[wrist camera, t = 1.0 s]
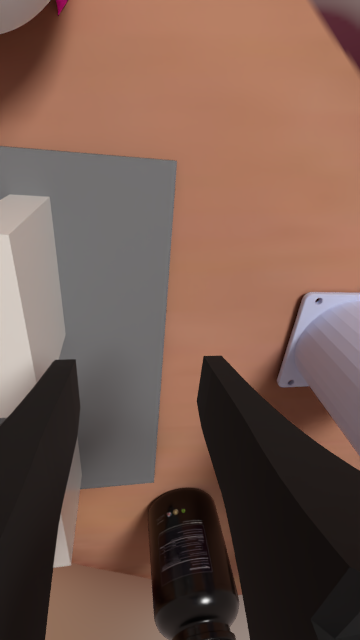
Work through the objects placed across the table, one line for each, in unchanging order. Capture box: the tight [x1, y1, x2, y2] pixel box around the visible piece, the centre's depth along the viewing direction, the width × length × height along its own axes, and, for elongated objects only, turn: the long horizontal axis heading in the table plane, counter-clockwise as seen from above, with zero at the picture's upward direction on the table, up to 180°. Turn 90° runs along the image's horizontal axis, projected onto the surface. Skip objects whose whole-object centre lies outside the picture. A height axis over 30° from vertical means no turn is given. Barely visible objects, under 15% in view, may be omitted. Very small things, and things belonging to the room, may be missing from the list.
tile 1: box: [0, 194, 66, 418], centre depth 15 cm, size 2×8×6 cm, turn 175°
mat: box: [0, 146, 177, 489], centre depth 21 cm, size 15×26×1 cm, turn 175°
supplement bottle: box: [148, 488, 239, 640], centre depth 27 cm, size 7×7×12 cm
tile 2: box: [53, 437, 82, 568], centre depth 22 cm, size 2×8×6 cm, turn 175°
